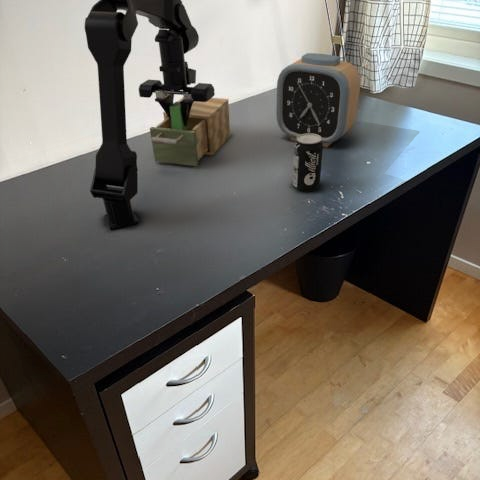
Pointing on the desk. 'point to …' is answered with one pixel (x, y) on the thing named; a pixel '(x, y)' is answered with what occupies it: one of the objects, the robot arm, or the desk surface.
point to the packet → (177, 117)
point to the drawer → (180, 142)
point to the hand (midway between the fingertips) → (180, 125)
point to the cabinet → (212, 120)
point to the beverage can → (307, 162)
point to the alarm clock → (318, 97)
